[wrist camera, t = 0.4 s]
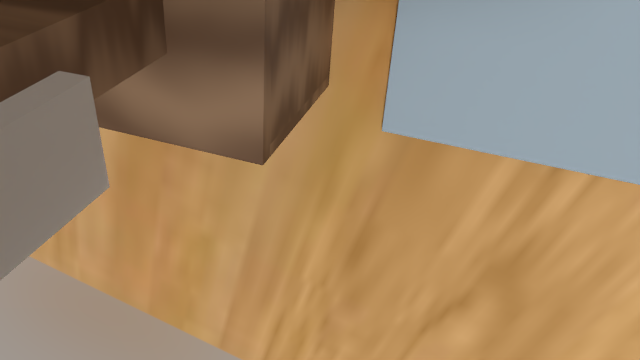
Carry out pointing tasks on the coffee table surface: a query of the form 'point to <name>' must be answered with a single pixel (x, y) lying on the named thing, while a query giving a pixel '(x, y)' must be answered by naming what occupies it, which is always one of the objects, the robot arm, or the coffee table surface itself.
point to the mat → (521, 80)
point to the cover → (179, 65)
